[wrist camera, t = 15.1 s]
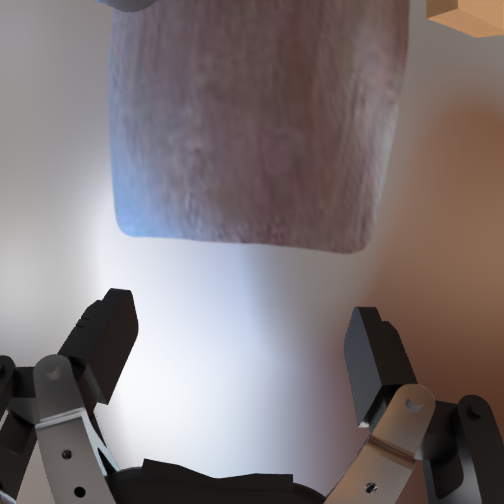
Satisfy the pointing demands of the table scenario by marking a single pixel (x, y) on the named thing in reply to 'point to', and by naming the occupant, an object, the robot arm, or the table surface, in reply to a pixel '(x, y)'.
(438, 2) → the tan piece
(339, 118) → the table surface
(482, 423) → the robot arm
